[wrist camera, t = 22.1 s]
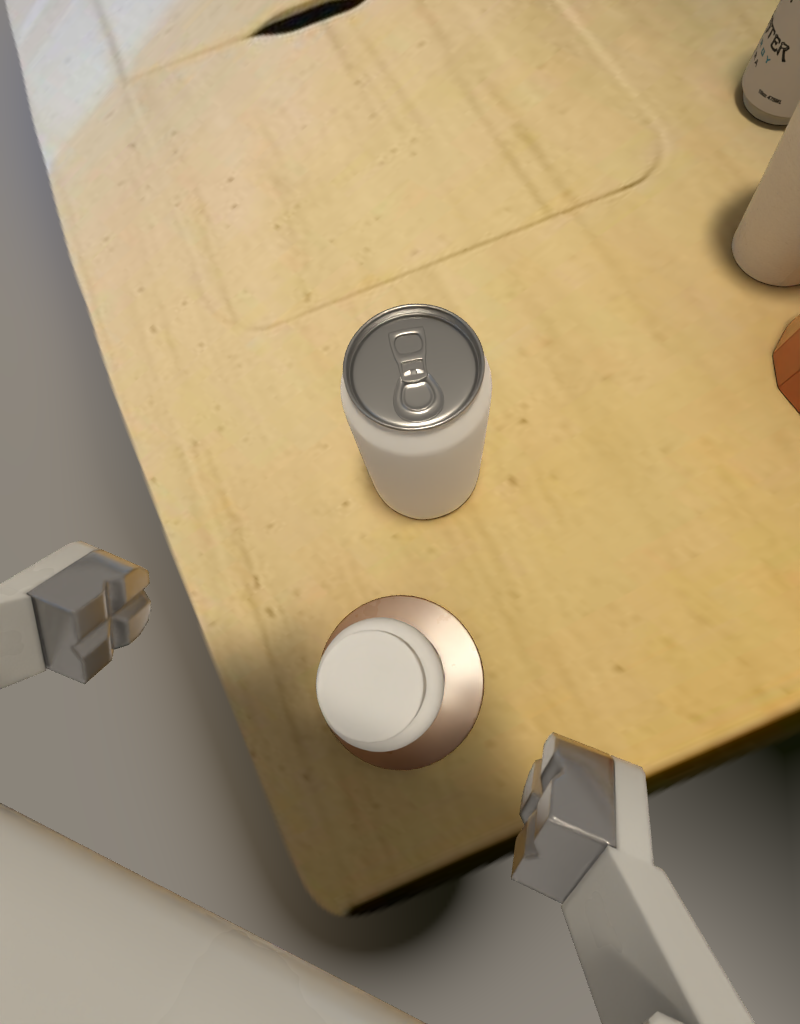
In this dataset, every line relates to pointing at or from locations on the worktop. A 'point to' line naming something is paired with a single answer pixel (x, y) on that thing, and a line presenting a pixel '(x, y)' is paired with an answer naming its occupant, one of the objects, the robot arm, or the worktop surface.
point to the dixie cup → (774, 217)
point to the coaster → (458, 690)
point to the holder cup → (789, 363)
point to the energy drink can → (775, 68)
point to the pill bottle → (380, 684)
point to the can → (418, 407)
